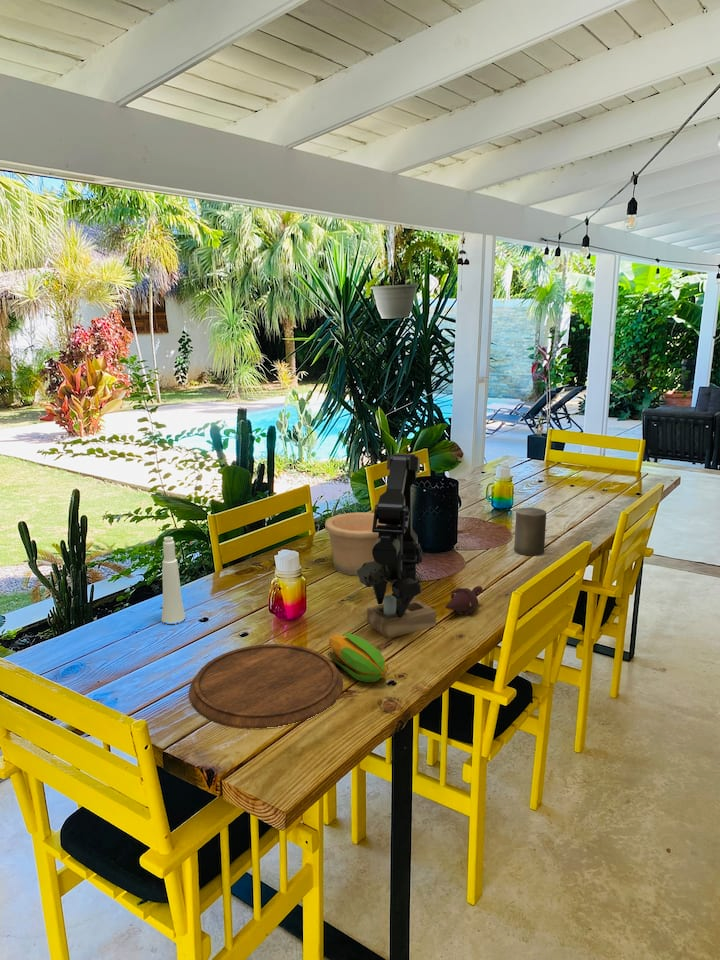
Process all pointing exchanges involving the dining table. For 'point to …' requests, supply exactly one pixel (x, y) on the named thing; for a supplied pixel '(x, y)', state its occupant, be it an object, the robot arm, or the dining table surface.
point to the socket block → (402, 619)
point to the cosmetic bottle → (171, 585)
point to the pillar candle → (530, 531)
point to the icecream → (464, 600)
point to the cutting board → (265, 686)
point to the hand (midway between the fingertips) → (389, 610)
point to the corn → (358, 657)
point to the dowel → (389, 605)
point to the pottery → (351, 540)
